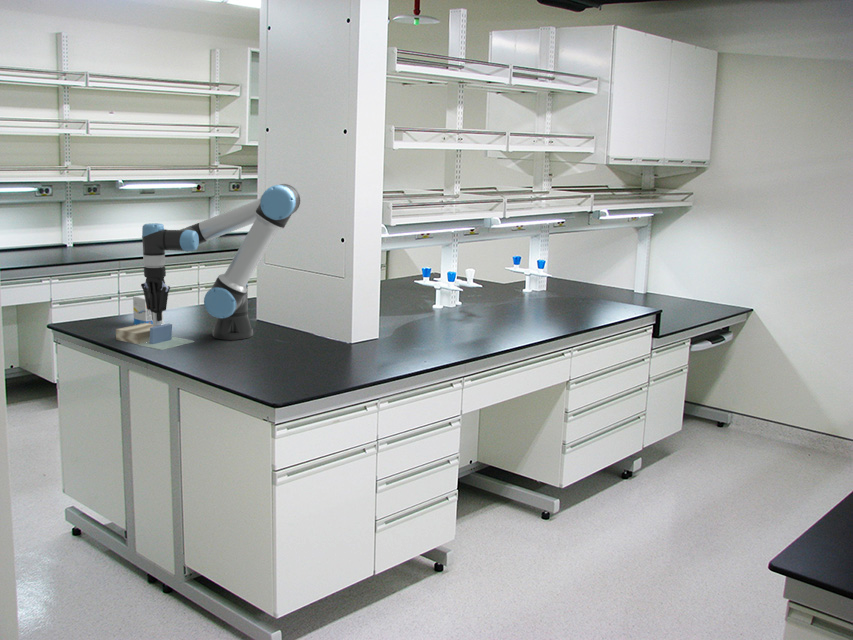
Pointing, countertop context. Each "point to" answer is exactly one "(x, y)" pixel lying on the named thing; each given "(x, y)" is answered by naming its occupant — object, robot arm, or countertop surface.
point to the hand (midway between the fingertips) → (157, 329)
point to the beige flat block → (134, 333)
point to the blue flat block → (160, 333)
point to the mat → (167, 343)
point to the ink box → (142, 311)
